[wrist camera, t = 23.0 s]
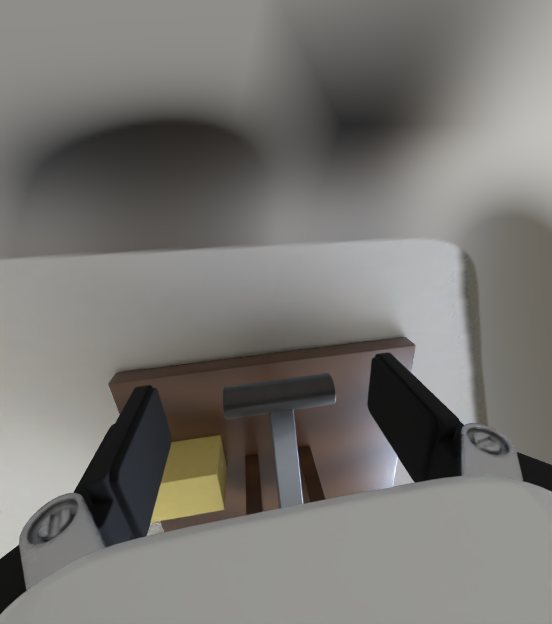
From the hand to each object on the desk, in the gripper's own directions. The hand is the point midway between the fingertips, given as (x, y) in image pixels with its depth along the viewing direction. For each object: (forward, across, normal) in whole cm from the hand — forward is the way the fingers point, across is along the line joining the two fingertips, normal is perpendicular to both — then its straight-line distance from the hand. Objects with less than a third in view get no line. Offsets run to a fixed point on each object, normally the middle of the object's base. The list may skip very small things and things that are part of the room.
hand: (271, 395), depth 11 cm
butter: (+5, +6, +9) cm, 12 cm away
